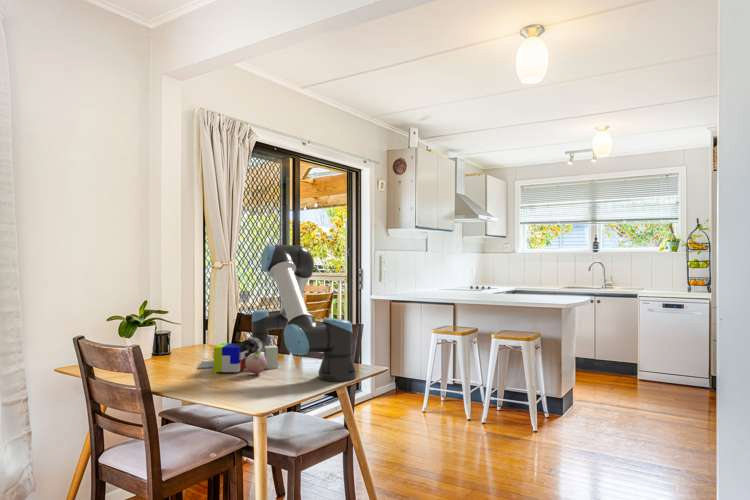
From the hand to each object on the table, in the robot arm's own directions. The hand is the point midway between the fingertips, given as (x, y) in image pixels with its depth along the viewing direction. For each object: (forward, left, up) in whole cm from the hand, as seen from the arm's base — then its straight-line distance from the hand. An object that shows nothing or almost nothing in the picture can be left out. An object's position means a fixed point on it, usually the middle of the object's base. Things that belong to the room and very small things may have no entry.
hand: (226, 355), depth 211 cm
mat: (+15, +6, -7) cm, 18 cm away
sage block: (+6, -18, -7) cm, 20 cm away
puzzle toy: (+2, -1, -6) cm, 7 cm away
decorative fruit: (-7, -12, -7) cm, 15 cm away
